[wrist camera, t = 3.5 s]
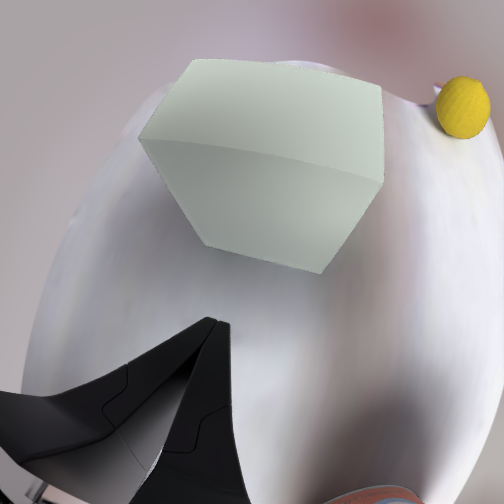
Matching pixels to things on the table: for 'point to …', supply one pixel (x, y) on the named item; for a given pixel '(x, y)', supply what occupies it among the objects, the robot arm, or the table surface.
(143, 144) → the sage block
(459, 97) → the lemon
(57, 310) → the table surface
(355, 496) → the canned food
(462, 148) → the table surface
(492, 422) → the table surface
